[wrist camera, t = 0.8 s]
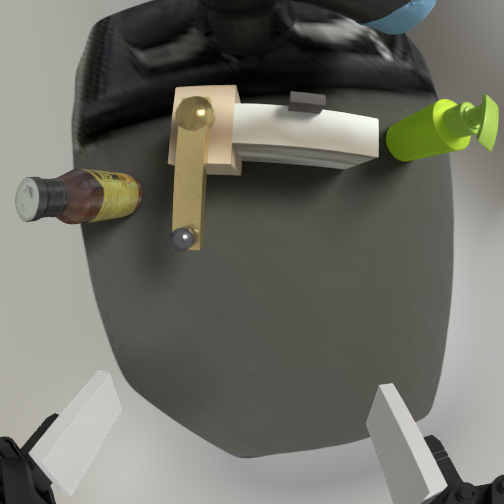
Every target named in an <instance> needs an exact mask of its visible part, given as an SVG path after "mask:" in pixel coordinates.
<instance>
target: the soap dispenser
mask: <svg viewBox="0 0 504 504" xmlns="http://www.w3.org/2000/svg"><path fill="white" fill-rule="evenodd" d="M497 129H498V105H496V103H494V101H492V100H491V99H490V98H489V97H488V96H487V95H483V101H482V105H480V106H477V107H475V106H474V105H472V104H471V103H469V102H463V103H461V104H459V105H457V104H456V103H455V102H453V101H451V100H448V99H442V100H439V101H437V102H435V103H433V104H431V105H429V106H427V107H425V108H424V109H422V110H420V111H418V112H416V113H414V114H412V115H410V116H409V117H407V118H405V119H403V120H401V121H399V122H397V123H396V124H394V125H392V126H391V127H390V128H389V129H388V131H387V133H386V144H387V147H388V149H389V151H390V153H391V154H392V155H393V156H394V157H395V158H396V159H398V160H400V161H404V162H408V161H412V160H417V159H421V158H425V157H430V156H434V155H439V154H444V153H448V152H453V151H458V150H462V149H464V148H466V147H467V146H468V144H469V142H470V138H471V135H475V134H477V140H478V141H479V142H480V143H481V144H482V145H483V146H484V147H485V148H487V149H488V150H489V151H490V152H491V151H492V148H493V145H494V142H495V139H496V134H497Z"/></svg>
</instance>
